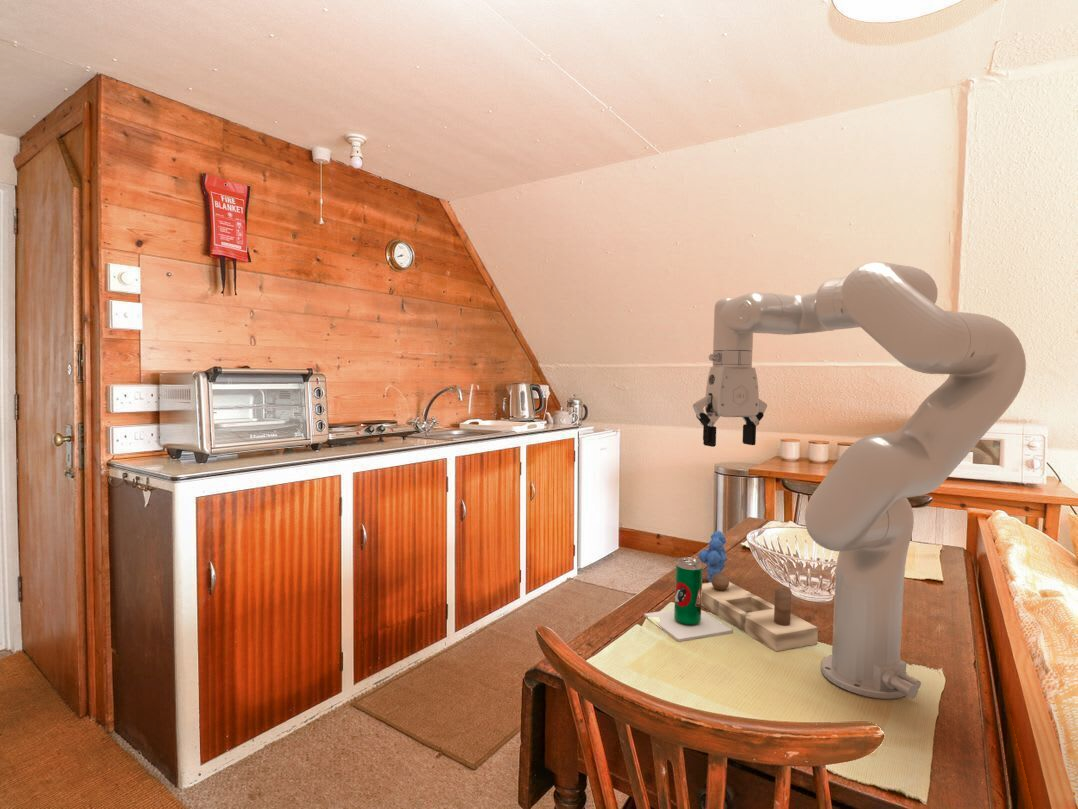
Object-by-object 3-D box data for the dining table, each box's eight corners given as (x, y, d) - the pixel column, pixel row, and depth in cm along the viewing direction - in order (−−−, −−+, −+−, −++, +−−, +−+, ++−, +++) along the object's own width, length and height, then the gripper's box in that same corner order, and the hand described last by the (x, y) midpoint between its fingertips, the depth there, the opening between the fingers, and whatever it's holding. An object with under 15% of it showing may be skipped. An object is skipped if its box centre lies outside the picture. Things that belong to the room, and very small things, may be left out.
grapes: (701, 572, 146) (702, 524, 146) (729, 576, 143) (731, 527, 143) (692, 587, 136) (693, 535, 135) (723, 592, 133) (724, 539, 132)
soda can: (701, 627, 113) (704, 565, 112) (674, 625, 114) (676, 563, 113) (699, 617, 118) (701, 557, 117) (673, 614, 119) (675, 555, 118)
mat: (732, 632, 113) (732, 630, 112) (678, 641, 108) (678, 639, 108) (694, 608, 124) (694, 606, 124) (644, 616, 119) (644, 613, 119)
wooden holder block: (817, 643, 108) (819, 595, 108) (776, 651, 105) (778, 601, 105) (726, 593, 132) (727, 553, 132) (690, 598, 129) (691, 557, 129)
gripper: (707, 359, 113) (705, 448, 114) (780, 361, 119) (776, 446, 120) (684, 359, 120) (682, 444, 121) (754, 361, 126) (751, 441, 127)
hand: (729, 445), depth 121 cm, fingers open, 9 cm apart
